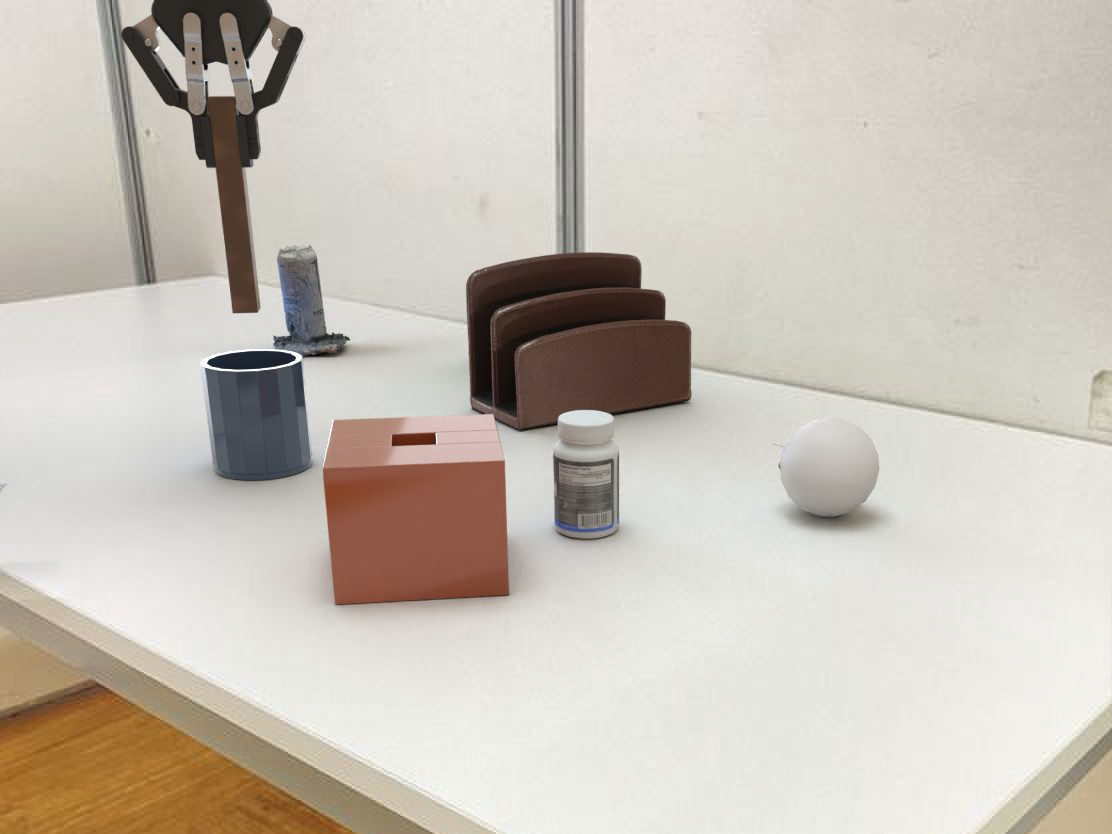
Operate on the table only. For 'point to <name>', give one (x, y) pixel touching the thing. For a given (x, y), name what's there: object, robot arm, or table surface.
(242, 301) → the stick
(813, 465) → the white ball
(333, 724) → the table surface
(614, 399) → the letter holder
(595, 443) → the pill bottle
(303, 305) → the beverage can
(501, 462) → the tissue box
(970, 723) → the table surface
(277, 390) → the cup
